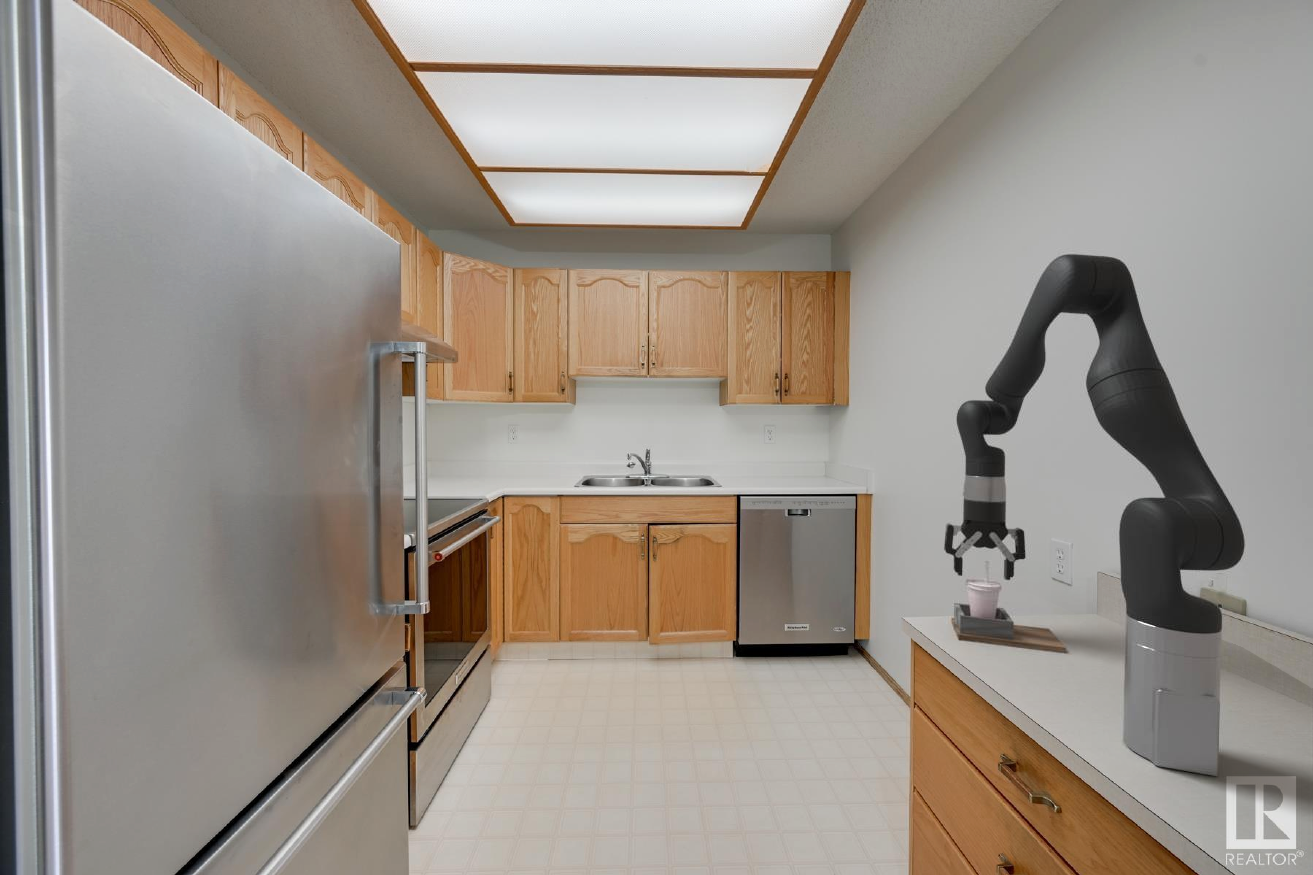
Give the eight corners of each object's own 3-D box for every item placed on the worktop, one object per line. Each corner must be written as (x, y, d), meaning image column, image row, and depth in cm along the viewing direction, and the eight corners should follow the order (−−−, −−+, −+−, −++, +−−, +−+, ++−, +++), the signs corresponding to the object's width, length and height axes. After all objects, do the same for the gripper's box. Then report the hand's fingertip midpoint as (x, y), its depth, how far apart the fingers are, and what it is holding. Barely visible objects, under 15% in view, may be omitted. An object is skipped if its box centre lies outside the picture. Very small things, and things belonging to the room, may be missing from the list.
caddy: (1065, 653, 107) (1066, 629, 107) (958, 639, 114) (959, 617, 114) (1048, 633, 118) (1049, 611, 118) (951, 622, 124) (951, 601, 124)
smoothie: (998, 637, 112) (1000, 566, 112) (962, 630, 116) (963, 561, 116) (1002, 628, 118) (1003, 560, 117) (967, 621, 121) (968, 556, 121)
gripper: (947, 498, 116) (946, 578, 116) (1029, 501, 111) (1028, 585, 111) (943, 494, 123) (942, 569, 123) (1020, 497, 118) (1019, 576, 118)
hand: (983, 577), depth 117 cm, fingers open, 8 cm apart
